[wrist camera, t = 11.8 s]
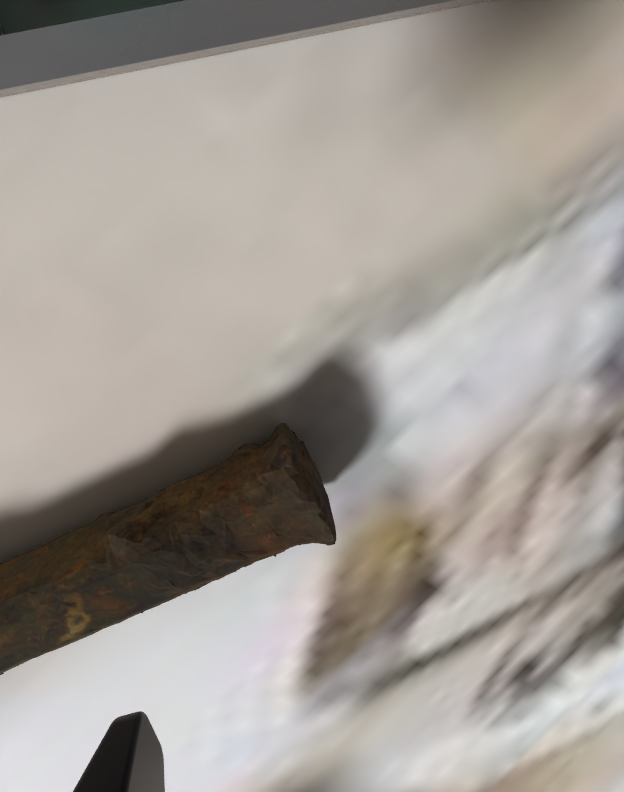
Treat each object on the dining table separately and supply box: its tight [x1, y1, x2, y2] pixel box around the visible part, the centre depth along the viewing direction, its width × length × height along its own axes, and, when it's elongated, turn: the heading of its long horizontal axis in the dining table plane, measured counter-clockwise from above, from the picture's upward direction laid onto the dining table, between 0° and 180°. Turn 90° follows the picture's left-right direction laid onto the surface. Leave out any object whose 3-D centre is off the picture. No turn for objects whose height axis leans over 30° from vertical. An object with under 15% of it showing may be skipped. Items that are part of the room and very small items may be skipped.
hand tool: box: [0, 423, 336, 675], centre depth 19 cm, size 19×4×5 cm, turn 110°
